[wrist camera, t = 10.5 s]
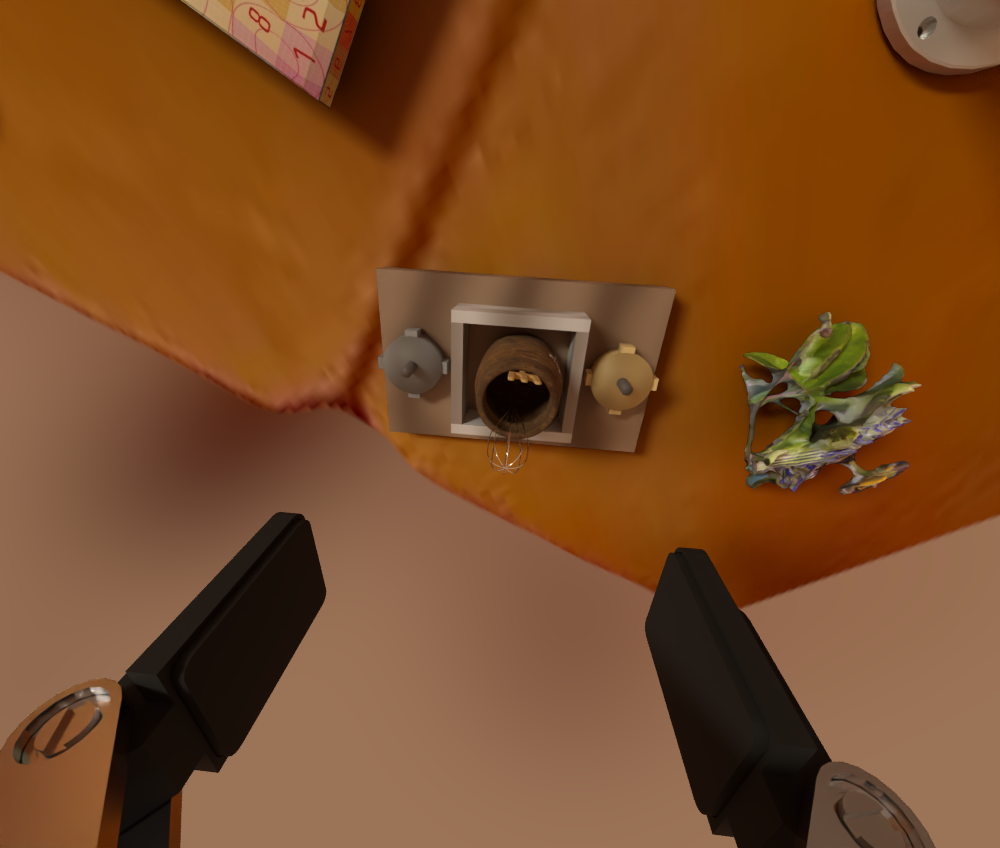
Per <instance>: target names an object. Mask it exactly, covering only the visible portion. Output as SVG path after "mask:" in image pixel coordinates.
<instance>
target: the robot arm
mask: <svg viewBox="0 0 1000 848" xmlns="http://www.w3.org/2000/svg"><path fill="white" fill-rule="evenodd" d="M877 8H878V12H879V16H880V20H881V24H882V27H883V31H884V32H885V34H886V36H887V38H888V40H889V41H890V43H891V45H892V47H893V49H894V50H895V51H896V52H897V53H898V54H899V55H900V56H901V57H902V58H903V59H904V60H906V61H907V62H908V63H909V64H911V65H913V66H915V67H917V68H919V69H921V70H923V71H925V72H930V73H935V74H941V75H959V74H970V73H974V72H978V71H981V70H985V69H989V68H992V67H995V66H998V65H1000V0H877ZM325 596H326V587H325V583H324V579H323V575H322V570H321V566H320V562H319V558H318V554H317V550H316V546H315V541H314V537H313V533H312V529H311V525H310V522H309V521H308V520H305V518H304V516H303V515H302V514H296V513H284V512H279V513H276V514H275V515H273V516H272V518H270V520H269V521H268V522H267V523H266V524H265V525H264V526H263V527H262V528H261V529H260V530H259V531H258V532H257V533H256V534H255V536H254V537H252V539H251V540H250V541H249V542H248V543H247V544H246V545H245V546H244V547H243V548H242V549H241V550H240V551H239V552H238V553H237V554H236V556H234V558H233V559H232V560H231V561H230V562H229V563H228V564H227V565H226V566H225V567H224V568H223V569H222V570H221V571H220V572H219V573H218V575H217V576H216V577H215V578H214V579H213V580H212V581H211V582H210V583H209V584H208V585H207V586H206V587H205V588H204V589H203V590H202V591H201V592H200V594H198V596H197V597H196V598H195V599H194V600H193V601H192V602H191V603H190V604H189V605H188V606H187V607H186V608H185V609H184V610H183V611H182V612H181V614H180V615H179V616H178V617H177V618H176V619H175V620H174V621H173V622H172V623H171V624H170V625H169V626H168V627H167V628H166V629H165V630H164V631H163V633H162V634H161V635H160V636H159V637H158V638H157V639H156V640H155V641H154V642H153V643H152V644H151V645H150V646H149V647H148V648H147V649H146V650H145V651H144V653H143V654H142V655H141V656H140V657H139V658H138V659H137V660H136V661H135V662H134V663H133V664H132V665H131V666H130V667H129V668H128V669H127V670H126V674H125V675H124V676H123V677H122V679H121V680H120V681H119V682H118V683H117V682H116V681H115V680H111V679H107V678H102V679H93V680H89V681H86V682H83V683H80V684H77V685H75V686H72V687H71V688H69V689H67V690H65V691H63V692H61V693H59V694H57V695H55V696H54V697H52V698H51V699H49V700H48V701H47V702H45V703H44V704H42V705H41V706H39V707H38V708H37V709H36V710H34V711H33V712H32V713H31V714H30V715H29V716H28V717H27V718H25V719H24V720H23V721H22V722H21V723H20V724H19V725H18V727H17V728H16V729H15V730H14V731H13V732H12V733H11V735H10V736H9V737H8V738H7V740H6V742H5V744H4V746H3V747H2V749H1V750H0V848H180V842H181V841H180V840H181V811H182V788H183V786H184V785H185V783H186V782H187V780H188V779H189V777H190V776H191V774H192V772H193V771H194V770H200V771H209V772H216V773H218V772H219V771H220V769H221V768H222V766H223V764H224V763H225V761H226V759H227V757H228V756H232V755H233V754H235V753H236V752H237V750H238V749H239V748H240V746H241V745H242V743H243V741H244V740H245V738H246V736H247V735H248V733H249V731H250V729H251V728H252V726H253V724H254V722H255V721H256V719H257V717H258V716H259V714H260V712H261V710H262V709H263V707H264V705H265V703H266V702H267V700H268V698H269V697H270V695H271V693H272V691H273V690H274V688H275V686H276V684H277V682H278V681H279V679H280V677H281V676H282V674H283V672H284V670H285V669H286V667H287V665H288V664H289V662H290V660H291V658H292V657H293V655H294V653H295V651H296V650H297V648H298V646H299V644H300V643H301V641H302V639H303V638H304V636H305V634H306V632H307V631H308V629H309V627H310V625H311V624H312V622H313V620H314V618H315V617H316V615H317V613H318V611H319V610H320V608H321V606H322V605H323V603H324V600H325ZM645 631H646V637H647V641H648V644H649V647H650V651H651V654H652V658H653V661H654V664H655V668H656V671H657V674H658V678H659V681H660V685H661V688H662V691H663V695H664V698H665V702H666V705H667V709H668V712H669V715H670V719H671V722H672V726H673V729H674V732H675V736H676V739H677V743H678V746H679V749H680V753H681V756H682V759H683V763H684V766H685V770H686V773H687V777H688V780H689V783H690V787H691V790H692V793H693V797H694V800H695V803H696V805H697V807H698V809H699V811H700V812H701V813H702V814H704V815H707V818H708V821H709V824H710V827H711V831H712V834H715V835H722V836H730V837H734V838H735V841H736V844H737V847H738V848H935V846H934V844H933V842H932V840H931V838H930V836H929V834H928V832H927V830H926V829H925V828H924V826H923V825H922V824H921V822H920V821H919V819H918V818H917V817H916V815H915V814H914V813H913V811H912V810H911V809H910V808H909V807H908V806H907V805H906V804H905V803H904V802H903V801H902V800H901V798H900V797H899V796H897V794H896V793H895V792H894V791H892V790H891V789H890V788H889V787H887V786H886V785H885V784H883V783H882V782H881V781H880V780H879V779H878V778H876V777H875V776H873V775H871V774H870V773H868V772H866V771H864V770H863V769H861V768H859V767H857V766H854V765H851V764H848V763H845V762H832V761H831V759H830V758H829V756H828V754H827V752H826V750H825V749H824V747H823V745H822V744H821V742H820V740H819V739H818V737H817V735H816V733H815V731H814V730H813V728H812V726H811V725H810V723H809V721H808V720H807V718H806V716H805V714H804V713H803V711H802V709H801V707H800V706H799V704H798V702H797V701H796V699H795V697H794V695H793V694H792V692H791V690H790V689H789V687H788V685H787V683H786V682H785V680H784V678H783V677H782V675H781V673H780V671H779V670H778V668H777V666H776V664H775V663H774V661H773V659H772V658H771V656H770V654H769V652H768V651H767V649H766V648H765V646H764V644H763V642H762V640H761V639H760V637H759V635H758V633H757V632H756V630H755V628H754V627H753V625H752V623H751V621H750V620H749V619H748V617H747V616H746V615H745V613H743V612H742V611H741V610H739V609H738V607H737V606H736V604H735V602H734V600H733V599H732V597H731V595H730V593H729V592H728V590H727V588H726V586H725V585H724V583H723V581H722V579H721V578H720V576H719V574H718V572H717V570H716V569H715V567H714V565H713V563H712V562H711V560H710V558H709V556H708V555H707V553H706V552H705V551H704V550H702V549H692V548H681V547H678V548H677V549H676V550H675V553H669V555H668V557H667V560H666V563H665V566H664V569H663V571H662V574H661V577H660V580H659V583H658V586H657V589H656V592H655V595H654V598H653V601H652V604H651V607H650V610H649V613H648V616H647V618H646V622H645Z"/></svg>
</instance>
